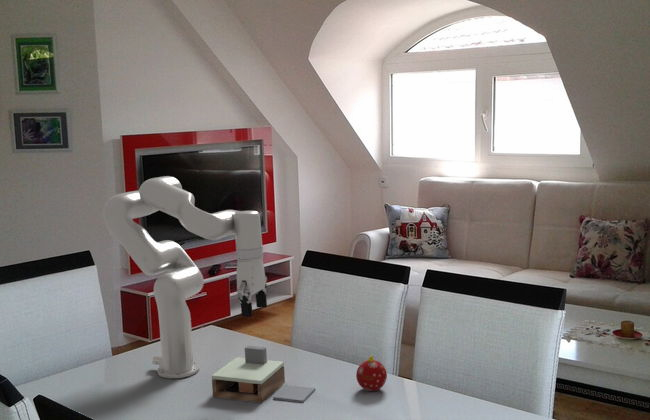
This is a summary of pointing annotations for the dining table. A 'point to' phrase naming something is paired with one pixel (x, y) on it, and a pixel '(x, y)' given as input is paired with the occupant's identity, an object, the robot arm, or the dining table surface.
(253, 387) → the block
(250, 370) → the lid
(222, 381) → the board
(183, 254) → the robot arm
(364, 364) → the christmas ornament
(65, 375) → the dining table surface
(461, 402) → the dining table surface
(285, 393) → the pad
